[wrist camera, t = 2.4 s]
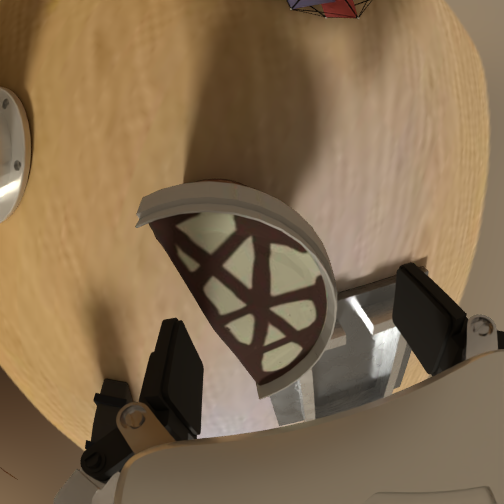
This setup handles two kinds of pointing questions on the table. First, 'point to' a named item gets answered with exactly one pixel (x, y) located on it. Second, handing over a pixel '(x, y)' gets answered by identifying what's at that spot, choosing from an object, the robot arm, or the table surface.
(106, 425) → the black tall block
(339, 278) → the table surface
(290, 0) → the geometric puzzle
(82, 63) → the table surface
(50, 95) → the table surface
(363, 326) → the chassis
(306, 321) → the food container
